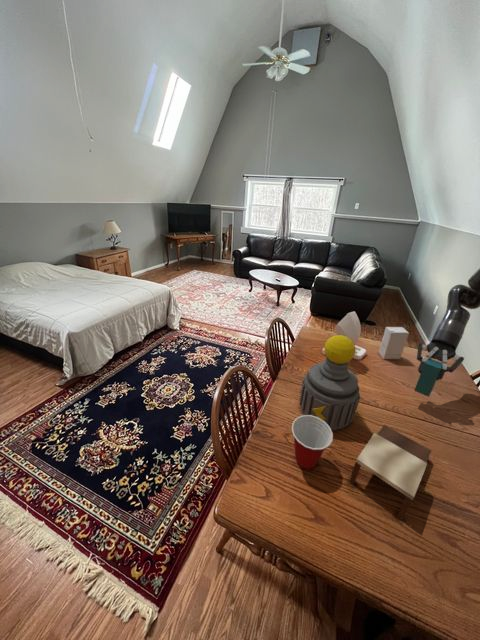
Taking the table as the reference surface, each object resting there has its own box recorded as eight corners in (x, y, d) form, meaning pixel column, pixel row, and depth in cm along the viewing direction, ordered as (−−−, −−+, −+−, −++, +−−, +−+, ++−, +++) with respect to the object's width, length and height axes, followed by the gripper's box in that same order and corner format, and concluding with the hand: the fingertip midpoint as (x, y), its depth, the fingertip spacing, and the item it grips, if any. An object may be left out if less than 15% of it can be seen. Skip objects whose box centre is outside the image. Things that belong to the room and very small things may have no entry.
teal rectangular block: (431, 391, 97) (443, 363, 92) (428, 397, 94) (440, 368, 89) (417, 385, 100) (428, 358, 95) (414, 390, 97) (424, 362, 92)
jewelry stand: (338, 340, 143) (349, 296, 132) (368, 351, 133) (381, 305, 123) (315, 357, 126) (324, 309, 115) (347, 372, 116) (360, 320, 106)
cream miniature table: (427, 458, 79) (438, 436, 75) (402, 520, 63) (414, 497, 59) (381, 432, 87) (389, 411, 83) (349, 482, 71) (356, 458, 67)
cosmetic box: (394, 353, 133) (403, 326, 126) (400, 360, 127) (410, 332, 121) (377, 352, 133) (385, 325, 126) (383, 359, 127) (391, 331, 121)
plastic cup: (287, 475, 72) (292, 443, 67) (286, 442, 82) (291, 412, 77) (328, 481, 71) (337, 450, 66) (322, 447, 81) (329, 417, 76)
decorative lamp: (346, 442, 83) (370, 360, 70) (289, 415, 92) (302, 339, 79) (358, 406, 97) (380, 334, 85) (308, 386, 106) (321, 318, 94)
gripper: (425, 323, 97) (406, 363, 94) (475, 337, 88) (455, 382, 85) (424, 331, 103) (406, 370, 100) (471, 346, 94) (452, 388, 91)
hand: (428, 375), depth 93 cm, fingers closed on teal rectangular block, 4 cm apart
